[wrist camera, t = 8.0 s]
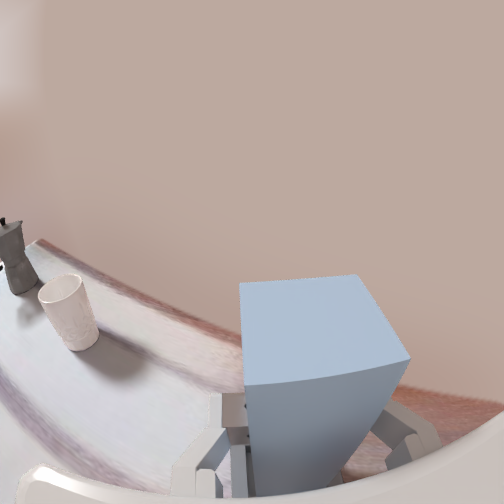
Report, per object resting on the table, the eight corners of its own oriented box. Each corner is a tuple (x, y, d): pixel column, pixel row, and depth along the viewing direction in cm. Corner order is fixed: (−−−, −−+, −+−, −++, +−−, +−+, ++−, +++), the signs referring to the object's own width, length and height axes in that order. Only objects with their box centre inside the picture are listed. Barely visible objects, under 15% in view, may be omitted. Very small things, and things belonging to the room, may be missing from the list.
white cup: (109, 324, 41) (90, 273, 37) (90, 358, 34) (64, 304, 30) (75, 320, 42) (55, 273, 37) (55, 350, 35) (29, 300, 30)
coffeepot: (28, 271, 58) (8, 210, 49) (49, 271, 57) (29, 205, 49) (-4, 303, 44) (-31, 235, 36) (15, 306, 44) (-14, 232, 36)
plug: (323, 489, 11) (411, 358, 6) (256, 498, 11) (244, 385, 5) (311, 432, 16) (350, 265, 10) (251, 438, 15) (238, 273, 9)
